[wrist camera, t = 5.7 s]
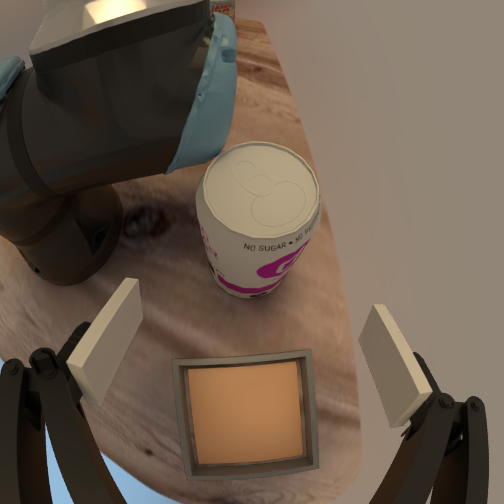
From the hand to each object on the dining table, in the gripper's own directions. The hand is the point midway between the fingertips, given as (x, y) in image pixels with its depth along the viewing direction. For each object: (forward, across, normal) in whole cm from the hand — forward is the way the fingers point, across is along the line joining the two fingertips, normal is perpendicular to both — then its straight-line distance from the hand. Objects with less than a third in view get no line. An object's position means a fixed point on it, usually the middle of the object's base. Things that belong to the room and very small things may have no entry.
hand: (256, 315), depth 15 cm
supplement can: (+15, 0, -5) cm, 16 cm away
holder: (+3, +1, -16) cm, 17 cm away
